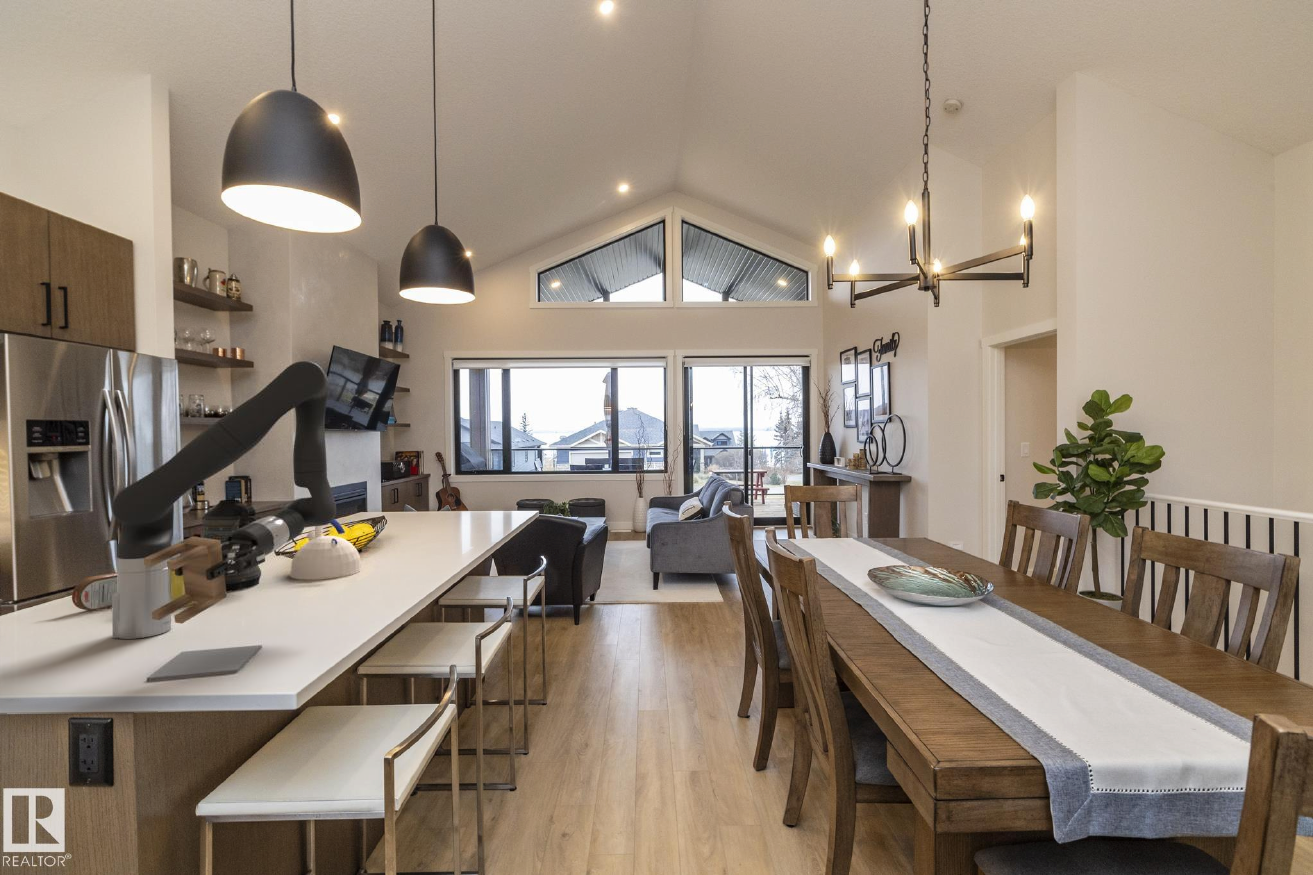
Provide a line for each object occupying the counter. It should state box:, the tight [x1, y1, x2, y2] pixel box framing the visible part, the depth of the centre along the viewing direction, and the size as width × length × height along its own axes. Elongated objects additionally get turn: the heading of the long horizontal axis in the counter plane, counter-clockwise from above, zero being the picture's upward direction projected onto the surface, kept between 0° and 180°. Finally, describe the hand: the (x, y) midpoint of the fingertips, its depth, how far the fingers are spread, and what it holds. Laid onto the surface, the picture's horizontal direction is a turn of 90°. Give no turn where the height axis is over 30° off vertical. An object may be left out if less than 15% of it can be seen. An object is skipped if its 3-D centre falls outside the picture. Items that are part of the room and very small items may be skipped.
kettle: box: [289, 518, 362, 581], centre depth 198 cm, size 20×21×18 cm
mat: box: [146, 644, 263, 682], centre depth 119 cm, size 14×14×1 cm
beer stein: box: [201, 499, 262, 593], centre depth 180 cm, size 16×19×25 cm
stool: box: [144, 536, 228, 625], centre depth 116 cm, size 10×6×12 cm, turn 172°
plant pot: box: [171, 569, 196, 607], centre depth 160 cm, size 10×10×10 cm
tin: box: [71, 572, 117, 612], centre depth 159 cm, size 15×3×8 cm, turn 159°
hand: (192, 573), depth 117 cm, fingers closed on stool, 6 cm apart
